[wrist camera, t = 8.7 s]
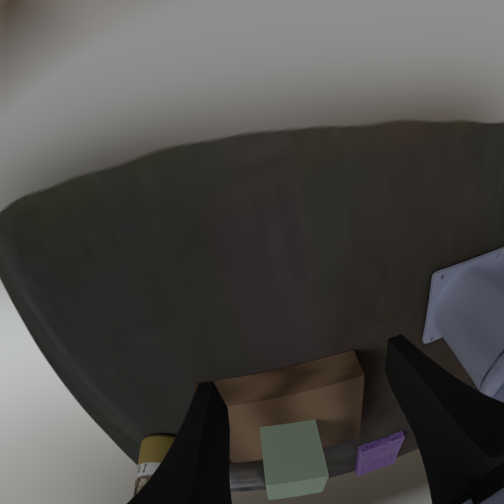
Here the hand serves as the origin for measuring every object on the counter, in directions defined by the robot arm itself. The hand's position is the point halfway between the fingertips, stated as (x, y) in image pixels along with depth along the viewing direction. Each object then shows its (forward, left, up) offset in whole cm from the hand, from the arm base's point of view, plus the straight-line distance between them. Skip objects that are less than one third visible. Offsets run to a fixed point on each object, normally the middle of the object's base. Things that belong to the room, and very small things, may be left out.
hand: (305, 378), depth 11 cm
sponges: (-10, +38, -10) cm, 41 cm away
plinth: (+2, +16, -9) cm, 19 cm away
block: (+2, +17, -6) cm, 18 cm away
